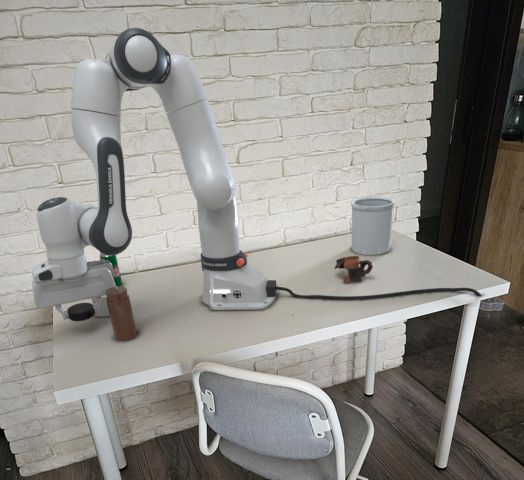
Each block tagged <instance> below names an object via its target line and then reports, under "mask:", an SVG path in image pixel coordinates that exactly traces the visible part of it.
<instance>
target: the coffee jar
mask: <svg viewBox="0 0 524 480" xmlns="http://www.w3.org/2000/svg"><path fill="white" fill-rule="evenodd" d="M105 293H106V297H107V298H106V302H107V306H108V311H109V315H110V316H109V319H110V323H111V327H112V331H113V336H114V339H115V340H116V341H119V342H120V341H121V342H125V341H129V340H133V339H134V338H136V337H137V335H138V331H137V325H136V321H135V316H134V311H133V307H132V303H131V298H130V295H129V294H128V288H127V287H125V286H123V285H121V286H117V287H112V288H109V289H107V290H106V292H105Z"/></svg>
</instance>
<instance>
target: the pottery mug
mask: <svg viewBox="0 0 524 480" xmlns="http://www.w3.org/2000/svg"><path fill="white" fill-rule="evenodd" d="M335 262H336V264H335V266H334V268H333V269H334V270H337V269H340V270H341V269H342V270H343V269H344V270H346V271H347V273H348V274H346V275H343V276H342V281H343V283H344V284H346V283H352V282H353V283H356V282H362V278H365V276H366V275H369V273H370V272H371V271H372V270H373V267H374V266H373V263H372V261H371V260H369V259H365V260H361V259H360V256H359V255H351V256H344V257H340V258H338V259H336V261H335ZM366 266H367V268H366ZM365 268H366V269H365Z"/></svg>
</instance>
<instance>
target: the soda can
mask: <svg viewBox="0 0 524 480" xmlns="http://www.w3.org/2000/svg"><path fill="white" fill-rule="evenodd" d="M101 259H105V260H107V261H109V262H111V264H112V267H113V273H112V277H113V279H114V282H115V285H116V287H117V286H123V281H122V280H123V279H122V276H121V272H120V267H119V266H120V265H119V262H118V258H117V255H106V254H103V253H101V252H100V251H99V260H101ZM106 263H107V262H106Z"/></svg>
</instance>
